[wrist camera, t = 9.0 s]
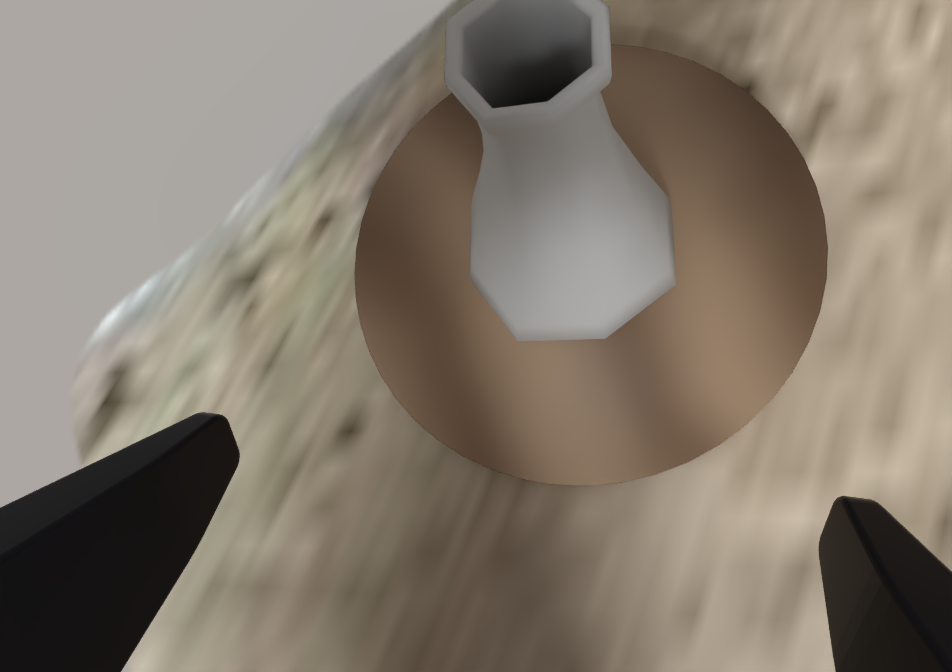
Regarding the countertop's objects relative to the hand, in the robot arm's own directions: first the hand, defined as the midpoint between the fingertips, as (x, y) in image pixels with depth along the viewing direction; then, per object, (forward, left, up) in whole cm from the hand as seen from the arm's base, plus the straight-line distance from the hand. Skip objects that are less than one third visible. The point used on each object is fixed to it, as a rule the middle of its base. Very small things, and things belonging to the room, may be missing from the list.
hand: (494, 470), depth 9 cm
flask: (+5, +6, -11) cm, 13 cm away
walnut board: (+4, +6, -12) cm, 14 cm away
